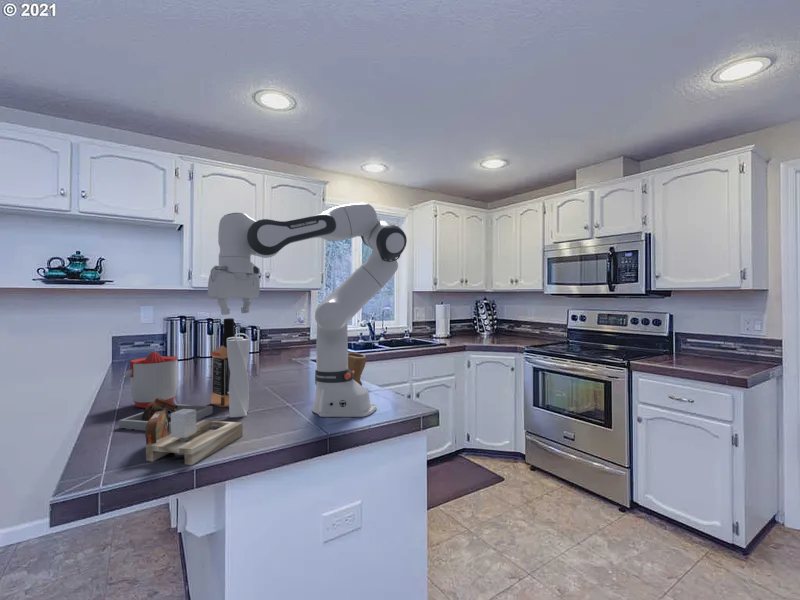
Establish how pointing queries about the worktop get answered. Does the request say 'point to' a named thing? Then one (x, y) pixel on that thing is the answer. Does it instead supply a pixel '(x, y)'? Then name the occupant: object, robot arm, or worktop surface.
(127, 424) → the grey flat square frame
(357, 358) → the tan flared vase
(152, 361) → the citrus juicer
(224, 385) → the whiskey bottle
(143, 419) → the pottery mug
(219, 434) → the keyhole plate
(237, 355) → the skyscraper
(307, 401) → the worktop surface
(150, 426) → the tin
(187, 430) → the peg
